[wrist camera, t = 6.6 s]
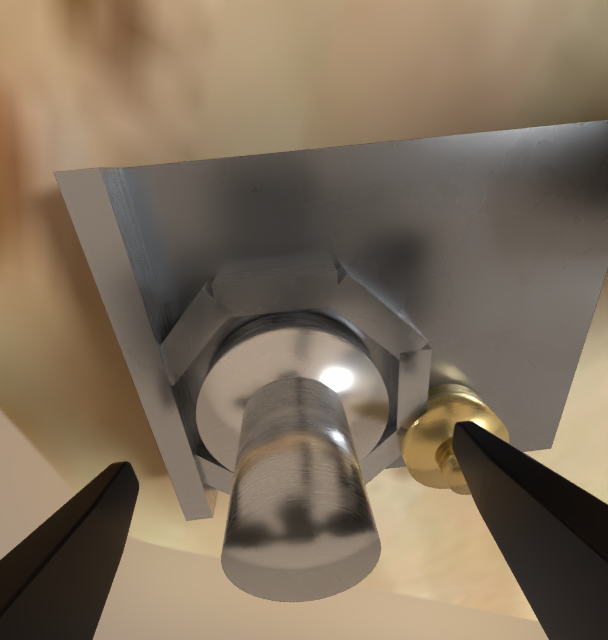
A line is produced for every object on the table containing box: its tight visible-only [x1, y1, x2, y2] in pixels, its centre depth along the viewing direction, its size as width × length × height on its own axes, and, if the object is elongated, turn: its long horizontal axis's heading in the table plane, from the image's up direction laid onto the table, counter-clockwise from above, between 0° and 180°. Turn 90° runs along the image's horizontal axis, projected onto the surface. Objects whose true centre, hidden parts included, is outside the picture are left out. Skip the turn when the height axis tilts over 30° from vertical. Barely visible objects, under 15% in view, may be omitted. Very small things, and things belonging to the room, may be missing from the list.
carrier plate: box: [53, 120, 608, 521], centre depth 10 cm, size 15×12×4 cm
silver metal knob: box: [196, 313, 389, 602], centre depth 9 cm, size 6×6×6 cm
